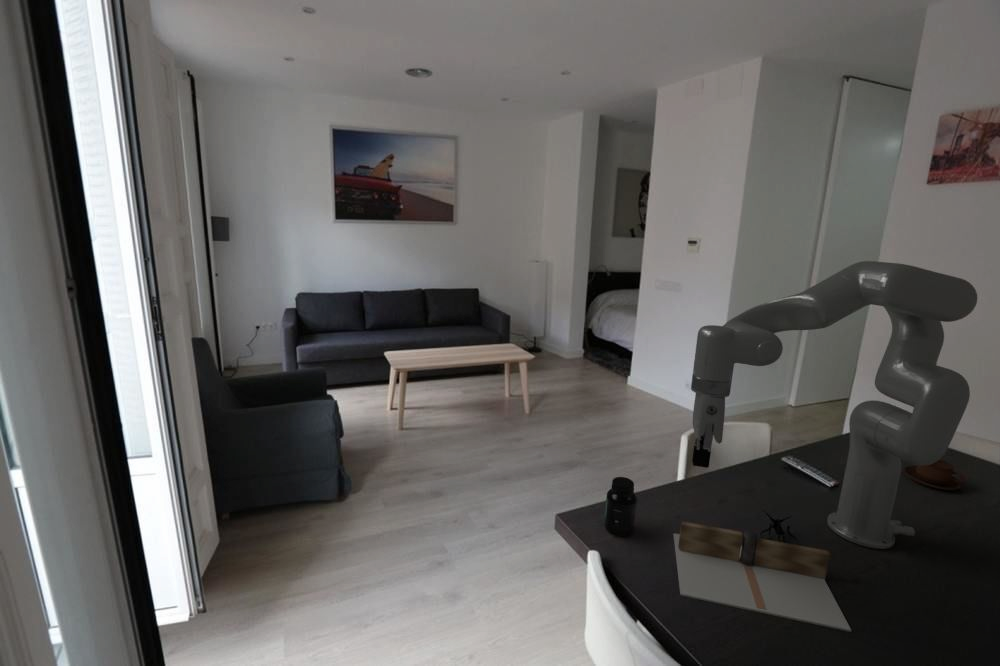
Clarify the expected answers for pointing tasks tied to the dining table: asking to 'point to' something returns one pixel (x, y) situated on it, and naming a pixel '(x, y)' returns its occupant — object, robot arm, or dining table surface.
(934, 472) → the cup and saucer
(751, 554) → the fence
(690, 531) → the gate panel
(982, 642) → the dining table surface
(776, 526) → the creature
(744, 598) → the card
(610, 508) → the supplement bottle
